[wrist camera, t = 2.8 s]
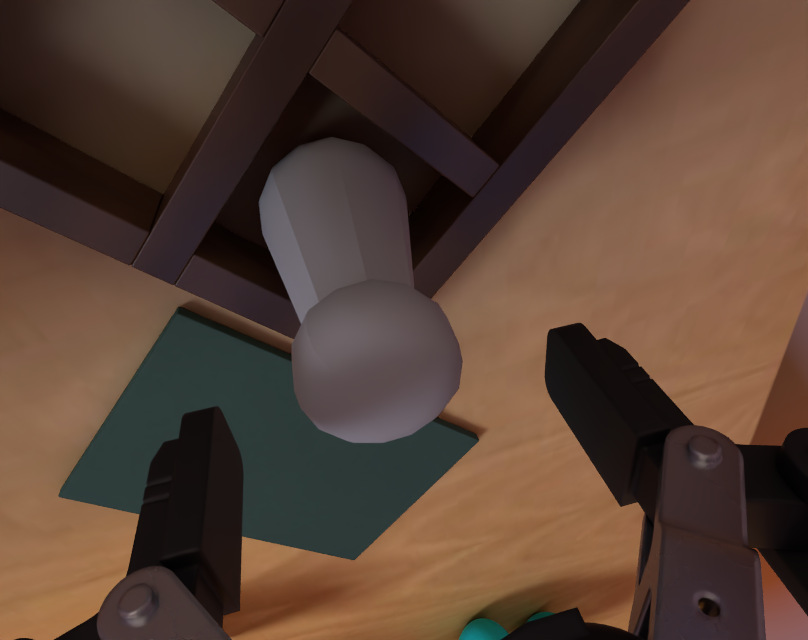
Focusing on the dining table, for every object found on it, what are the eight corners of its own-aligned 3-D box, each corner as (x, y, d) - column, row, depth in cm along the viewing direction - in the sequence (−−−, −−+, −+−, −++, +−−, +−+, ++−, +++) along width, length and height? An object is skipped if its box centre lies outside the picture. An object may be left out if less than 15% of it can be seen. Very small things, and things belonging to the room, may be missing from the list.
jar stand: (-140, 84, 17) (-215, 112, 14) (126, -808, 10) (78, -1084, 7) (356, 328, 27) (367, 372, 25) (655, -35, 20) (717, -31, 18)
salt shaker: (380, 106, 21) (498, 265, 11) (404, 231, 25) (510, 440, 14) (237, 141, 21) (220, 342, 10) (282, 264, 24) (303, 503, 14)
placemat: (60, 488, 29) (57, 497, 29) (178, 305, 24) (177, 313, 24) (353, 553, 39) (354, 560, 39) (476, 433, 34) (479, 440, 34)
